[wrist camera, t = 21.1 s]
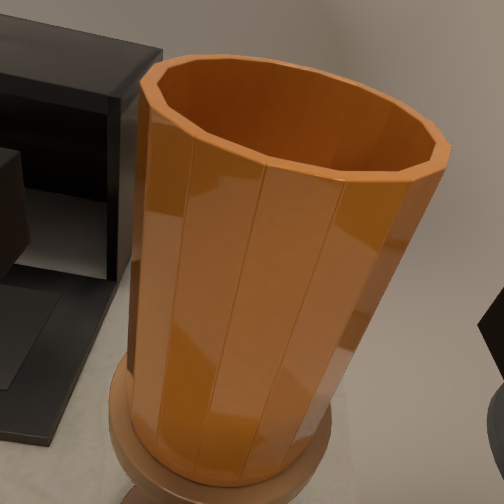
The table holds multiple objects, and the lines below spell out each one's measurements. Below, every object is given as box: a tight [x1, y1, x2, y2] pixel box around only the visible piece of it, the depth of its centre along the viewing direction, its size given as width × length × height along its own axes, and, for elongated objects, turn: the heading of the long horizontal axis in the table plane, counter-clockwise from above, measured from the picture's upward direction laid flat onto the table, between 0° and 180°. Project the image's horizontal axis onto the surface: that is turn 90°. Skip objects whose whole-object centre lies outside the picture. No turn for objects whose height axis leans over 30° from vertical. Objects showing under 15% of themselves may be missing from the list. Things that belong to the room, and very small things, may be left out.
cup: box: [126, 54, 452, 487], centre depth 15 cm, size 8×8×12 cm
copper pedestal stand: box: [109, 352, 332, 504], centre depth 23 cm, size 9×9×15 cm
